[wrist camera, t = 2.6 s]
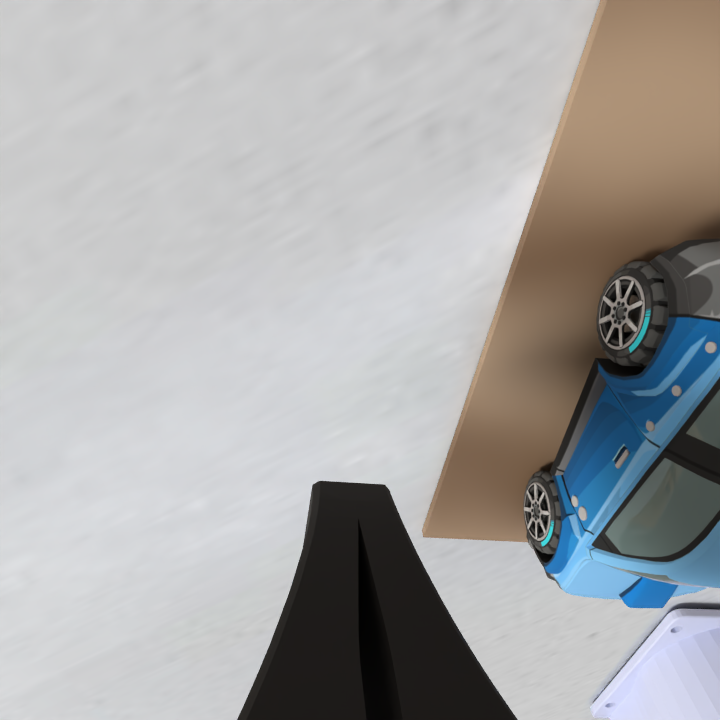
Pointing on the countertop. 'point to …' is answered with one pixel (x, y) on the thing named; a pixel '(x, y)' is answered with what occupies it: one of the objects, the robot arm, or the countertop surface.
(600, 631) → the countertop surface
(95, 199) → the countertop surface
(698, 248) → the toy car
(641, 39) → the board
